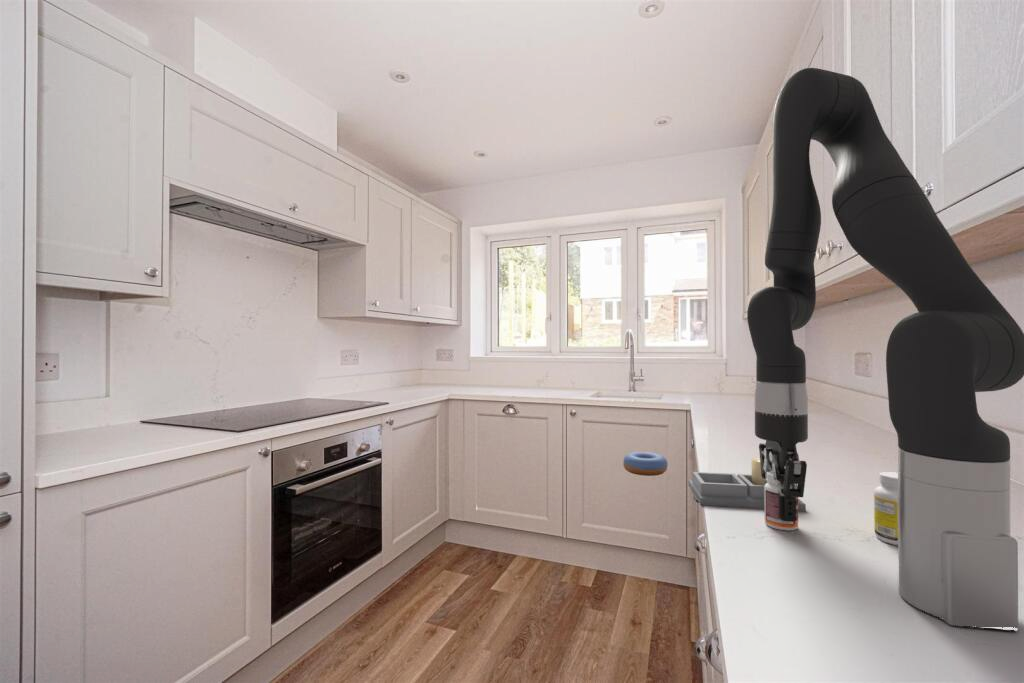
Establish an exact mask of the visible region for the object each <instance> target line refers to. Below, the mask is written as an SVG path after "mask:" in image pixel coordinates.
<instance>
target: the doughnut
mask: <svg viewBox="0 0 1024 683" xmlns="http://www.w3.org/2000/svg"><path fill="white" fill-rule="evenodd" d="M622 465H623V468H624V470H626V471H627V472H629V474H633V475H638V476H646V477H648V476H649V477H650V476H651V477H655V476H660V475H663V474H664V473H665V472H667V470H668V460H667V458H666V457H664V456H663V455H661V454H659V453H655V452H650V451H633V452H629V453H627V454H626V455H624V458H623V463H622Z"/></svg>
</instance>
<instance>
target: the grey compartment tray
mask: <svg viewBox="0 0 1024 683" xmlns="http://www.w3.org/2000/svg"><path fill="white" fill-rule="evenodd" d="M764 486H765V479H764V478H762V476H761V464H760V457H753V458H751V473H750V474H749V473H747V474H746V473H737V474H736V473H730V472H729V473H728V472H727V473H724V472H705V471H704V472H703V471H702V472H701V471H692V479H688V487H689V489H690V491H691V492H692V493H693V495H694V496H695V498H696V500H697V501H698V503H699V505H702V506H714V507H730V508H733V507H735V508H747V509H763V510H764ZM806 505H807V504H806V503H804V502H803V500H801V499H800V498H798V512H799V511H800V512H801V511H802V512H806V508H807V506H806Z"/></svg>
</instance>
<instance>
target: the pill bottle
mask: <svg viewBox="0 0 1024 683" xmlns="http://www.w3.org/2000/svg"><path fill="white" fill-rule="evenodd" d="M780 475H781V476H785V474H780ZM767 482H768V483H766V484H765V486H764V509H763V511H764V524H765V525H766V526H768V527H770V528H773V529H776V530H781V531H795V530H797V529H798V528H799V511H798V499H799V497H798V498H796V520H795V521H794V522H790V521H782V520H781V519H780V518H779V491H778V483H777V482H776V481H775V480H774V477H773V471H769V472H767ZM783 484H784V482H783ZM790 489H792V488H791V485H790Z"/></svg>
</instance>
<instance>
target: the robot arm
mask: <svg viewBox="0 0 1024 683" xmlns="http://www.w3.org/2000/svg"><path fill="white" fill-rule="evenodd" d="M873 104H874V103H873V102H872V99H871V97H870V95H869V93H868V90H867V89H866V87H865V85H864V84H863V83H862V82H861V81H860V80H859V79H857V78H855V77H854V76H851V75H848V74H843V73H839V72H835V71H832V70H827V69H822V68H817V67H806V68H802V69H800V70H799V71H796V72H795V73H794V74H793V75H792V76H790V77H789V78H788V80H787V81H785V83H784V85H783V86H782V87H781V90H780V91H779V93H778V96H777V98H776V101H775V105H774V109H773V110H774V111H773V120H772V178H773V179H772V181H773V182H772V185H773V186H772V190H773V192H772V194H773V195H772V206H771V207H772V208H771V216H770V224H769V230H768V235H767V242H766V248H765V255H764V266H765V267H766V268H767V269H768V270H769V271H770V272H772V275H773V285H772V286H766V287H762V288H760V289H758V290H757V291H756V292H754V294H752V296H751V298H750V301H749V303H748V305H747V310H746V316H747V318H746V320H747V326H748V330H749V335H750V338H751V342H752V346H753V349H754V353H755V355H756V356H755V357H756V361H755V362H756V363H755V365H756V366H755V367H756V370H755V372H756V375H755V376H756V382H755V391H754V435H755V436H756V437H757V438H758V439H760V440H764V441H765V443H759V444H758V451H759V458H760V464H761V476H762V478H764V479H765V484H766V483H768V482H767V472H769V471H773V477H774V480H775V481H776V482H777V483H778V491H779V518H780V519H781V520H782V521H790V522H794V521H795V520H796V498H798V499H799V498H803V497H804V493H805V485H806V477H807V468H808V467H807V466H808V464H807V462H806V461H805V460H800V458H799V456H800V455H799V453H798V451H797V444H798V443H804V442H806V441H807V440H808V439H809V415H808V414H809V410H808V409H809V408H808V407H809V406H808V405H809V402H808V401H809V399H808V397H809V396H808V391H807V384H806V383H807V373H806V372H807V368H806V366H807V365H806V364H807V361H806V354H805V352H804V350H803V349H802V348H801V347H799V346H798V345H796V344H795V339H794V333H793V331H798V330H799V329H801V328H803V327H805V326H806V325H807V324H808V322H810V320H811V318H812V316H813V314H814V311H815V308H816V307H815V306H816V300H817V293H816V292H817V290H816V273H815V258H816V255H817V248H818V245H819V244H818V243H819V239H820V233H821V227H822V212H821V205H820V200H819V197H818V194H817V190H816V187H815V183H814V180H813V176H812V175H813V174H812V171H811V170H812V168H811V161H810V159H811V158H810V149H811V141H812V140H813V141H816V142H817V143H819V144H821V145H822V146H823V147H824V149H826V151H827V153H828V154H829V156H830V158H831V159H832V161H833V163H834V165H835V168H836V178H835V181H834V184H833V189H832V190H833V191H832V195H831V206H832V210H833V213H834V216H835V218H836V220H837V222H838V224H839V227H840V228H841V230H842V232H843V235H844V236H845V238H846V240H847V242H848V243H849V245H850V246H851V248H852V249H853V250H854V251H855V252H856V253H857V255H859V257H861V258H862V259H863V260H864V261H865V262H867V264H869V265H870V266H871V267H872V268H874V269H875V270H876V271H877V272H879V273H880V274H882V275H883V276H884V277H885V278H887V279H888V280H890V281H891V282H892V283H893V284H894V285H895V286H896V287H898V288H899V289H900V290H901V291H903V293H904V294H905V295H906V296H907V297H908V298H909V300H910V301H911V303H913V306H914V307H915V308H916V310H917V312H915V313H911V314H908V315H907V316H905V317H903V318H902V319H901V320H900V321H899V322H897V324H896V325H895V326H894V328H893V329H892V330H891V333H890V334H889V337H888V340H887V343H886V344H887V346H886V351H885V352H886V353H885V367H886V368H885V370H886V371H885V373H886V383H887V397H888V411H889V417H890V421H891V423H892V425H893V428H894V430H895V432H896V434H897V446H898V448H897V451H898V452H897V454H898V456H897V457H898V458H897V459H898V461H897V463H898V464H897V465H898V466H897V468H898V470H897V473H898V545H897V546H898V549H897V550H898V552H897V554H898V558H897V559H898V592H899V594H900V596H901V598H902V599H904V600H905V601H906V602H907V603H908V604H909V605H911V606H913V607H915V608H917V609H918V610H920V611H922V610H923V612H924V611H925V613H926V612H927V613H926V614H929V613H930V614H929V615H931V614H932V616H934V617H936V616H937V617H936V618H938V617H940V618H939V619H941V618H943V619H944V620H945V621H946V622H945V621H944V620H943V621H944V622H945V623H946V624H947V625H949V626H953V625H954V627H963V626H974V627H975V626H976V627H1002V628H1003V627H1013V628H1014V627H1015V628H1018V629H1019V551H1018V550H1019V546H1018V545H1019V544H1018V543H1019V542H1018V540H1017V539H1016V538H1014V537H1013V536H1011V441H1010V438H1009V436H1008V435H1007V433H1006V432H1005V431H1003V430H1001V429H999V428H997V427H994V426H992V425H990V424H988V423H987V422H986V421H984V420H983V418H982V417H981V416H980V413H979V412H978V404H977V398H976V397H977V396H976V393H981V392H986V393H987V392H996V391H1002V390H1005V389H1008V388H1010V387H1013V386H1014V385H1017V383H1018V382H1019V381H1021V380H1022V379H1023V377H1024V331H1023V330H1022V328H1021V327H1020V325H1019V324H1018V322H1017V321H1016V320H1015V319H1014V318H1013V316H1012V315H1011V314H1010V312H1008V310H1007V309H1006V308H1005V307H1004V306H1003V304H1002V303H1001V302H1000V301H999V299H998V298H997V297H996V296H995V295H994V294H993V292H992V291H991V290H990V289H989V287H987V285H986V284H985V283H984V282H983V281H982V280H981V279H980V277H979V276H978V275H977V273H976V272H975V270H974V269H973V268H972V267H971V265H970V264H969V262H967V260H966V259H965V257H964V255H963V253H962V252H961V250H960V249H959V247H958V246H957V244H956V241H954V239H953V238H952V235H951V234H950V233H949V231H948V230H947V229H946V227H945V226H944V224H943V223H942V221H941V219H940V218H939V217H938V215H937V213H936V211H935V209H934V208H933V205H932V204H931V202H930V200H929V198H928V197H927V195H926V194H925V192H924V191H923V189H922V187H921V186H920V184H919V183H918V180H917V179H916V178H915V177H914V175H913V174H912V172H911V171H910V170H909V167H907V165H906V164H905V162H904V161H903V159H902V157H901V155H900V154H899V152H898V151H897V149H896V148H895V146H894V145H893V143H892V142H891V140H890V139H889V137H888V136H887V134H886V133H885V130H884V128H883V126H882V124H881V121H880V119H879V116H878V113H877V112H876V109H875V107H874V105H873ZM780 474H785V476H781V475H780ZM783 482H784V484H783ZM790 485H791V488H792V489H790ZM955 625H956V626H955ZM957 625H958V626H957ZM974 627H973V628H974Z"/></svg>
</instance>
